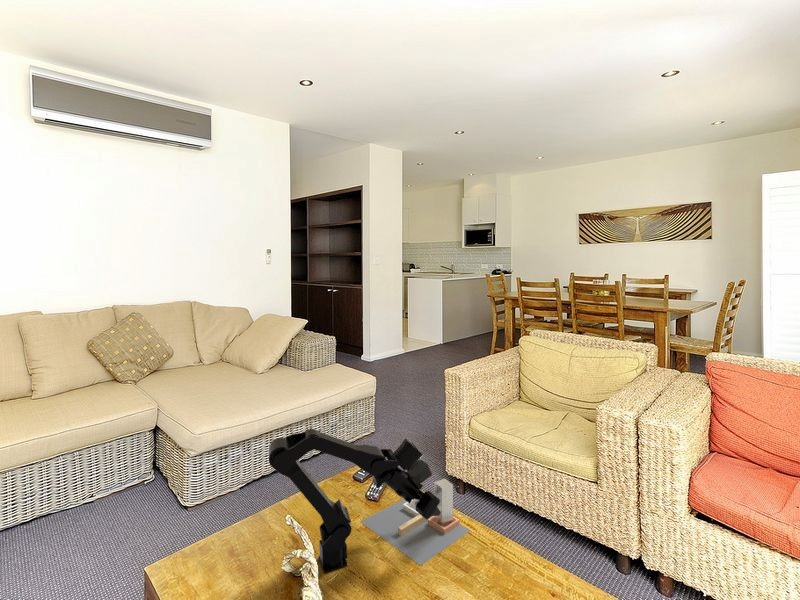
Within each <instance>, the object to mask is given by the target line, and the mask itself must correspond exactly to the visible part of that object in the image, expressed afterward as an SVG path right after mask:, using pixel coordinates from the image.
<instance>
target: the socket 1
mask: <svg viewBox="0 0 800 600" xmlns="http://www.w3.org/2000/svg"><path fill="white" fill-rule="evenodd" d="M417 502H419V500H417V499H414V500H412V501H411V502H410V504H409V503H408V502H406V503H404V504H403V509H404V510H406V511H407V512H409V513H411V514H412V515H414V516H418V515H419V513H418V512H417V511H416V510H414V509H412V508H411V507H410V506H411V505H413V504H415V503H417Z"/></svg>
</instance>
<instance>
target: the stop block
mask: <svg viewBox="0 0 800 600" xmlns="http://www.w3.org/2000/svg"><path fill="white" fill-rule="evenodd" d="M433 494H434V495H435V496H436V497H437V498H439V499H440V503H439V504H438V506H437V507H438V509H439V510H440V512H441V513H440V515H439V516H434V522H436V523H437V524H439V525H441V526H442V527H444V528H445V527H446V526H448V525H449V524H451V523H453V516H454V484H453V483H452V482H450V481H449V480H447V479H446V478H441V479H439V480H437V481H434V482H433Z"/></svg>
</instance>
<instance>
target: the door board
mask: <svg viewBox="0 0 800 600" xmlns="http://www.w3.org/2000/svg"><path fill="white" fill-rule="evenodd" d="M406 502H407V501H406V500H405V499H404V498H402V499H400V500H398V501H397V502H395V503H392V504H391V505H389V506H387V507H385V508H383V509H382V510H380V511H378V512H376V513H374V514H372V515H369V516H368V517H366V518H364V519H362V520H361V521H360V524H362V525H363V526H366V528H368V529H369V530H371V532H374V533H375V534H376V535H378V536H379V537H380V538H382V539H383V540H385V541H386V542H387V543H388V544H390V545H391V546H393V548H395V549H397V550H399V551H400V552H401V553H402V554H404V555H405V556H407V557H409V559H411V560H412V561H413V562H415V563H416V564H418V565H419V566H422V565H424V564H426V562H428V561H430V560H431V559H432V558H434V557H435V556H436V555H438V554H439V553H441V552H442V551H444V550H445V549H447V548H448V547H450V546H451V545H452V544H454V543H455V542H457V541H458V540H460V539H461V538H463V537H464V536H465V535H466V534H468V533H470V532H471V531H472V530H471V529H469V528H468V527H466V526H464V525H463V524H460V525H458V526H457V527H455V528H454V529H452V530H451V531H449V532H448V533H446V534H443V533H442V532H440V531H438V530H437V529H435V528H433V527H432V526H430V525H429V524H428V519H427V520H426V519H425V518H424V517H422V516H421V515H420V514H419V515H418V516H414V515H412V514H411V513H409V512H407V511H406V510H404V509H403V504H404V503H406ZM417 503H418V502H417ZM417 503H415V504H413V505H411V506H410V507H411V508H412V509H414V510H416V505H417ZM431 517H432V516H430V518H431Z"/></svg>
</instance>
